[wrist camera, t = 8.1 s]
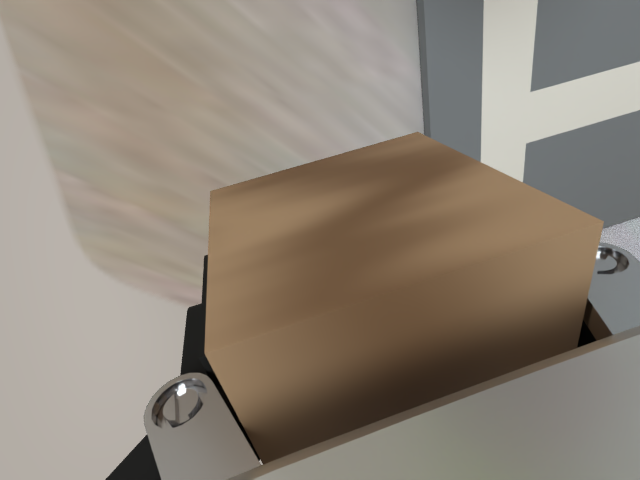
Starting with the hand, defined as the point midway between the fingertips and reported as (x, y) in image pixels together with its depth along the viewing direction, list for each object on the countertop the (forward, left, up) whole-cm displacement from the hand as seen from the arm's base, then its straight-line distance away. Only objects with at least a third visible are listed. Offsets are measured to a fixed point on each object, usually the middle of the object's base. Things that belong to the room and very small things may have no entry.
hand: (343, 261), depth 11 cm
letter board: (-14, 0, -7) cm, 16 cm away
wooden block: (0, 0, -1) cm, 1 cm away
